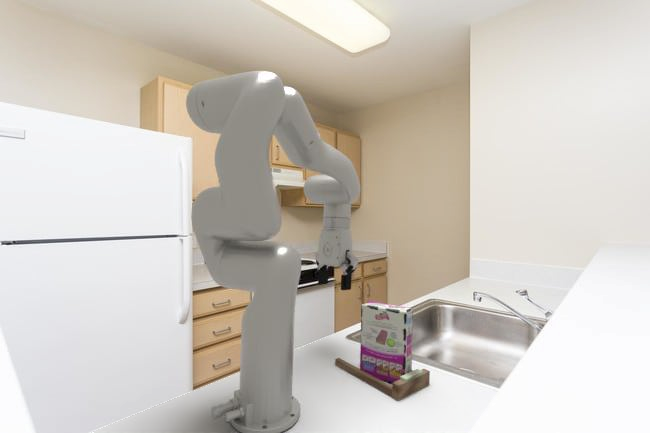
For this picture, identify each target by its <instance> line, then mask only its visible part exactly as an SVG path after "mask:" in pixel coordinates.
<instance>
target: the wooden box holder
mask: <svg viewBox="0 0 650 433" xmlns="http://www.w3.org/2000/svg"><path fill="white" fill-rule="evenodd" d="M334 365H335V366H336V367H338V368H339V369H342V370H344V371H345V372H347V373H348V374H350V375H352V376H353V377H355V378H357V379H359V380H361V381H362V382H364V383H365V384H367V385H369V386H371V387H373V388H374V389H376V390H378V391H380V392H381V393H384V394H385V395H387V396H389V397H391V398H392V399H395V400H396V401H401V400H403V399H405V398H407V397H409V396H410V395H412V394H414V393H416V392H418V391H420V390H422V389H424V388H426V387H427V386H430V379H431V378H430V376H431V375H430V373H431V371H430V370H428V369H426V368H422V369H419V368H417V369H414V370H413V369H412V371H411V372H409V373H407V374H405V375H402V376H400V380H398V381H395V382H393V383H391V384H388V382H386V381H382V380H380V379H378V378H376V377H374V376H372V375H370V374H368V373H366V372H365V371H363V370H361V369H360V367H357V366H355V365H353V364H352V363H350V362H347V361H346V360H344V359H343V358H340V357H337V358H335V359H334Z"/></svg>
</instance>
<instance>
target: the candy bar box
mask: <svg viewBox="0 0 650 433" xmlns="http://www.w3.org/2000/svg"><path fill="white" fill-rule="evenodd" d="M360 309H361V310H360V311H361V312H360V316H361V317H360V322H361V323H360V353H359V355H360V356H359V359H360V362H359V369H361V370H363V371H365V372H366V373H368V374H370V375H372V376H374V377H376V378H378V379H380V380H381V381H383V382H385V383H390V384H392V383H393V382H395V381H398V380H400V376H402V375H405V374H407V373H409V372H411V371H412V370H413V368H412V367H413V366H412V365H413V364H412V363H413V314H414V313H413V311H414V310H413V307H407V306H404V305H403V306H401V305H396V304H389V303H382V302H378V301H372V300H371V301H367V302H365V303H361V308H360Z"/></svg>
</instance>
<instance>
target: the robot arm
mask: <svg viewBox="0 0 650 433" xmlns="http://www.w3.org/2000/svg"><path fill="white" fill-rule="evenodd" d="M185 106H186V112H187V114H188V116H189V118H190V119H191V121H192V122H193V124H194V125H196V126H197V128H199V129H201V130H202V131H204V132H207V133H211V134H216V135H217V134H220V135H219V136H218V140H217V143H216V147H215V150H214V166H215V171H216V175H217V179H218V183H219V186H212V187H208V188H206V189H203V190H201V192H200V193H198V195H196V197H195V199H194V201H193V202H192V203H193V204H192V207H191V215H190V216H191V226H192V229H193V232H194V236H195V239H196V241H197V243H198V247H199V249H200V252H201V255H202V257H203V261H204V263H205V265H206V269H207V270H208V273H209V275H210V277H211V278H212V280H213V281H214V283H215V284H216V285H218V286H220V287H222V288H225V289H229V290H230V289H232V290H238V291H243V292H244V291H246V292H250V293H253V297H252V298H251V300H250V302H249V303H248V305H247V306H246V307H245V309H244V311H243V314H242V318H241V325H240V326H241V328H240V329H241V332H240V361H239V362H240V364H239V389H236V390H234V391H233V397H232V398H231V397H230V398H229V399H228V401H227V402H224V403H223V402H222V403H219V404H216V405H214V406H213V405H212V407H211V409H210V410H211V417H212V419H213V420H216V419H219V418H222V417H223V418H224V421H225V423H228V422H230V423H231V426H232V427H233V428H234V429H235V430H237V431H238V432H240V433H282V432H284V431H288V429H290V428H291V427H292V426H293V425H295V424H296V422H297V421H298V420H299V418H300V414H301V404H300V403H299V400H298V399H297V398H296V397H295V396H294V395H293V373H294V344H295V343H294V338H295V337H294V336H295V312H296V311H295V310H296V302H297V301H296V300H297V292H298V287H299V282H300V278H301V272H302V258H301V256H300V253H299V252H298V250H297V249H296V248H295V247H293V246H292V245H290V244H288V243H284V242H282V241H281V242H280V241H273V240H271V239H273V238H275V237H276V236H277V235H278V234H279V232H280V231H281V229H282V228H281V227H282V212H281V207H280V202H279V199H278V198H279V196H278V195H277V189H276V184H275V181H274V176H273V172H272V168H271V167H272V166H271V163H270V162H271V161H270V147H271V142H272V138H273V136H274V138H275V139H276V141H277V142H278V144H279V146H280V147H281V149H282V151H283V152H284V154H285V155H286V157H287V158H288V160H289V161H290V163H291V164H293V165H295V166H297V167H298V168H301V169H304V170H307V171H311V172H315V173H319V174H316V175H311V176H309V177H308V178H307V179H306V180H305V182H304V184H303V194H304V197H305V198H306V199H307V201H309V202H310V203H313V204H316V205H323V217H322V218H323V219H322V221H323V222H322V229H321V231H320V233H319V240H318V248H317V252H316V253H315V254H314V258H315V264H316V265H317V267H316V268H317V271H318V278H317V280H318V281H317V285H328V284H329V269H328V268H329V267H334V268H335V267H336V268H337V267H338V268H339V269H340V271H341V272H342V274H341V275H340V290H341V291H349V290H351V289H352V278H353V276H352V275H354V273H355V271H356V269H357V266H358V263H359V262H360V260H359V258H358V257H357V256H355V255H354V253H353V238H352V230H351V211H352V204H354V203H356V202H357V201H358V200H359V197H360V195H361V183H360V179H359V176H358V174H357V171H356V168H355V166H354V164H353V162H352V160H351V159H350V158H348V157H347V155H345V154H344V153H342V152H341V151H340V150H338V149H336V148H335V147H334V146H333V145H330V144H329V143H327V142H325V141H323V139H322V138H321V134H320V133H319V130H318V129H317V126H316V123H315V122H314V119H313V117H312V116H311V114H310V112H309V109H308V107H307V105H306V103H305V101H304V99H303V96H302V95H301V93H300V92H299V91H298V90H296V89H295V88H293V87H291V86H287V85H284V83H283V81H282V79H281V78H280V76H278V75H277V74H276V73H275V72H272V71H268V70H253V71H246V72H239V73H236V74H235V73H234V74H231V75H230V74H229V75H227V76H221V77H216V78H212V79H205V80H202V81H199V82H196V83H195V84H193V86H192V87H191V88H190V89H189V91H188V93H187V94H186V99H185Z"/></svg>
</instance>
